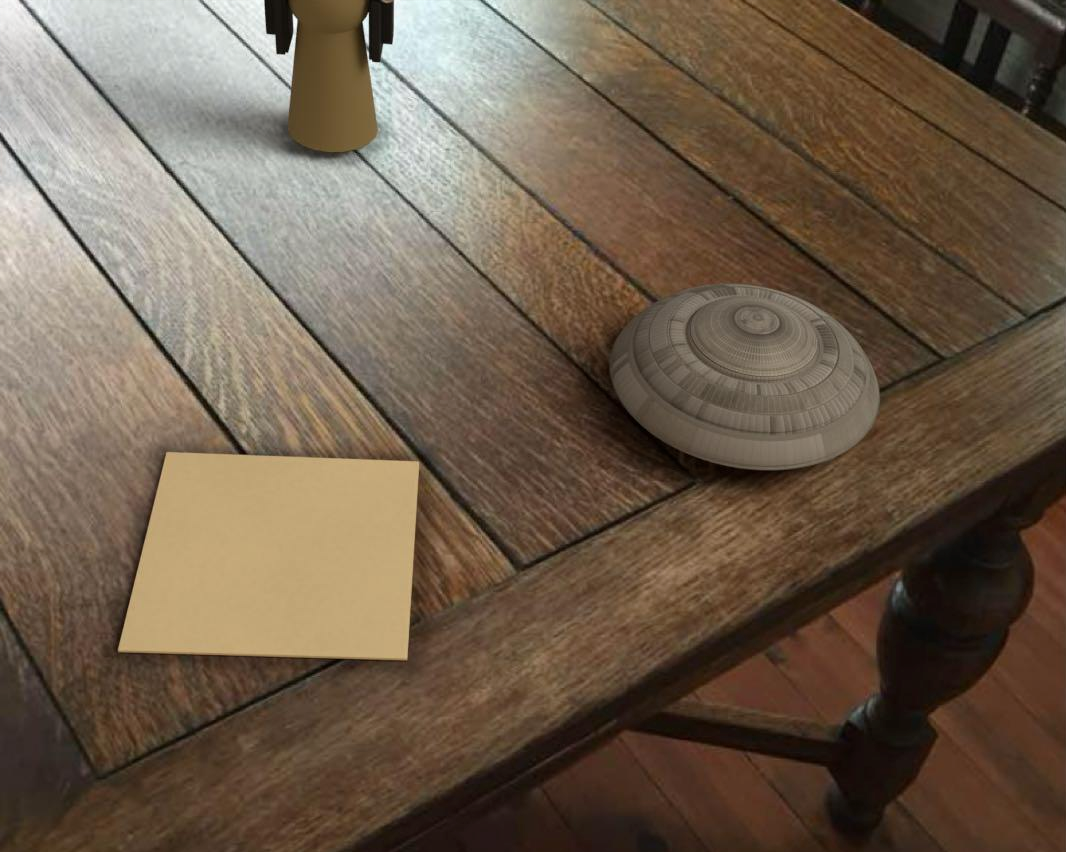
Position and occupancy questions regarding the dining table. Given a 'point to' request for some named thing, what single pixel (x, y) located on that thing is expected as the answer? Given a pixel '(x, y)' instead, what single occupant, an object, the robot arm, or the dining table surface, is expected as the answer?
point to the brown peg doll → (331, 77)
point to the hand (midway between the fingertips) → (330, 45)
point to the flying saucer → (745, 377)
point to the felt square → (277, 558)
